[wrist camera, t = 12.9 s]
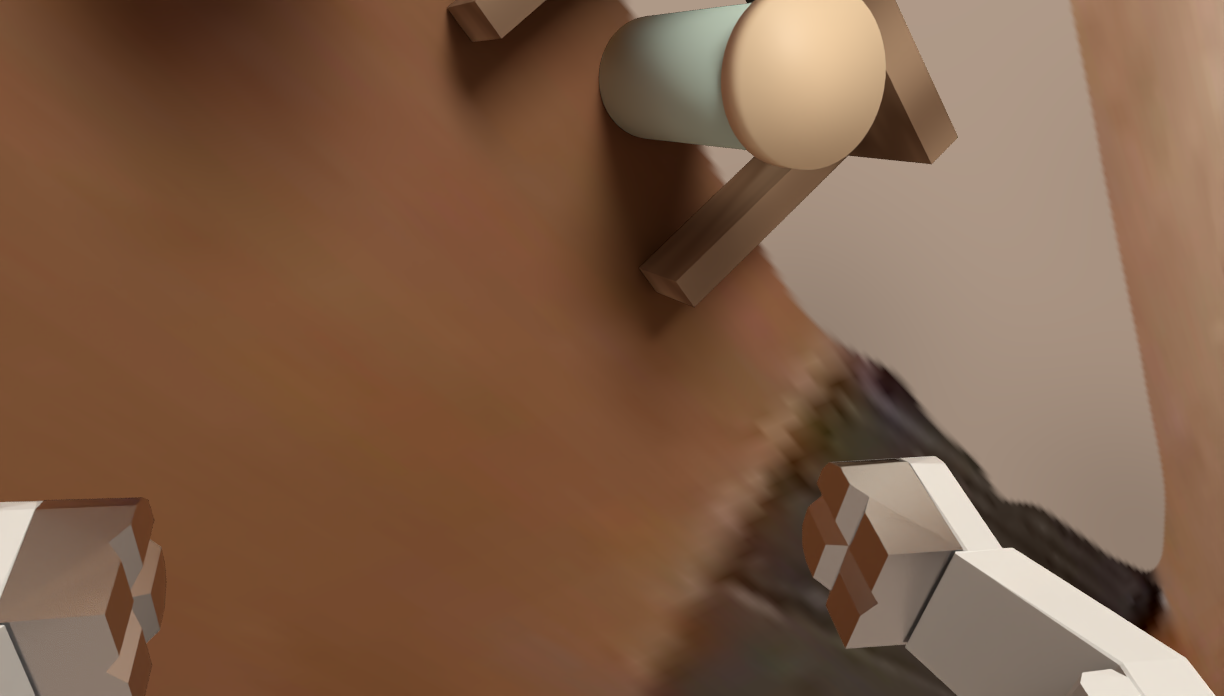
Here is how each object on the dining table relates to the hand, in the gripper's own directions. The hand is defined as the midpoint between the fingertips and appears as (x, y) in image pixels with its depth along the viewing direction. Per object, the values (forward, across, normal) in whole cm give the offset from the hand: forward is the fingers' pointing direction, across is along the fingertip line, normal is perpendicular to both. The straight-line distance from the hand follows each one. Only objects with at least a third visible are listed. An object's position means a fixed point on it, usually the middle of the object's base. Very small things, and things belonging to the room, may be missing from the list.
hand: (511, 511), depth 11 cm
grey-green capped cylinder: (+26, -8, +4) cm, 28 cm away
